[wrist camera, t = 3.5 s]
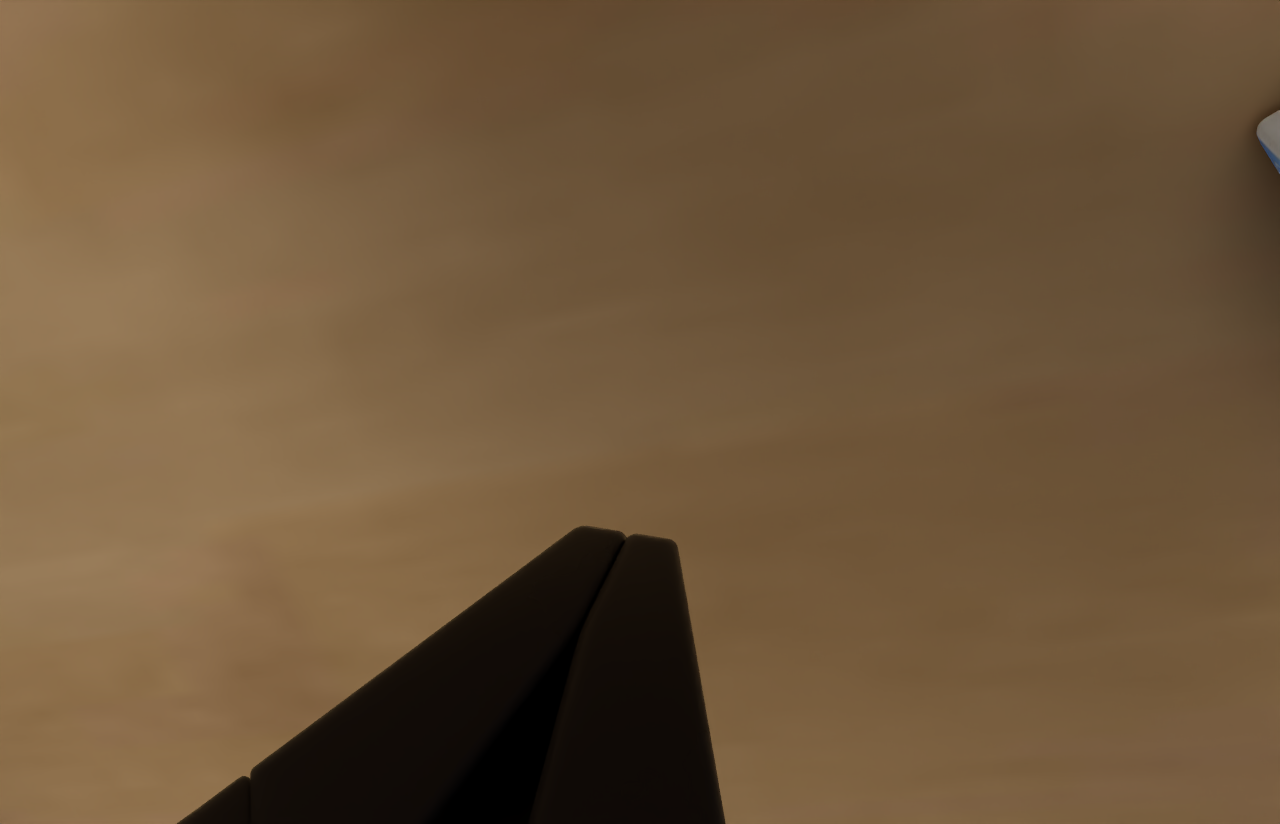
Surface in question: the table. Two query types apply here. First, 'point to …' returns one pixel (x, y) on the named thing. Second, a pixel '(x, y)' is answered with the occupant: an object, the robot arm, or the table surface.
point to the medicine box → (1271, 137)
